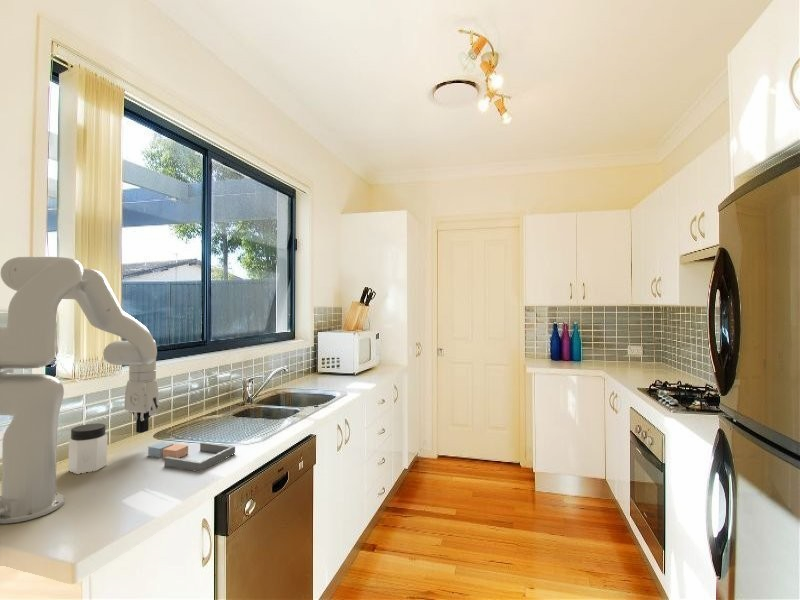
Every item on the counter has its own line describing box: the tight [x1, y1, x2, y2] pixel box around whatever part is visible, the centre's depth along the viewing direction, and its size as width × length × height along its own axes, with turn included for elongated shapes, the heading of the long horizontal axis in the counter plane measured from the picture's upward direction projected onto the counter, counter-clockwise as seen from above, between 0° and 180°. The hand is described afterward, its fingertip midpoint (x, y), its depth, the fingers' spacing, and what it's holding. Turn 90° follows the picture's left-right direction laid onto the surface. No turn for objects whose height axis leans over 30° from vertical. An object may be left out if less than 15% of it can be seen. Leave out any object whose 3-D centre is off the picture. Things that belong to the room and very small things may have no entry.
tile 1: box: [147, 441, 175, 458], centre depth 133 cm, size 5×5×3 cm
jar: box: [67, 422, 108, 475], centre depth 121 cm, size 9×8×12 cm
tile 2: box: [162, 443, 189, 459], centre depth 131 cm, size 5×5×3 cm
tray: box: [163, 441, 236, 472], centre depth 128 cm, size 15×13×2 cm
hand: (142, 431), depth 136 cm, fingers closed
